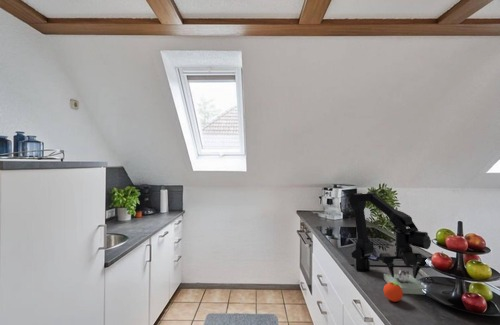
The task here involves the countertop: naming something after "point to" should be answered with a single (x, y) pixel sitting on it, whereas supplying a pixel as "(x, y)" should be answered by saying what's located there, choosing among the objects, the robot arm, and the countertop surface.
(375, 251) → the snack package
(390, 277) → the jig
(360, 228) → the robot arm
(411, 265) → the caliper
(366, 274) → the countertop surface
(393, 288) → the clementine
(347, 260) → the countertop surface
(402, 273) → the bushing
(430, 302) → the countertop surface
